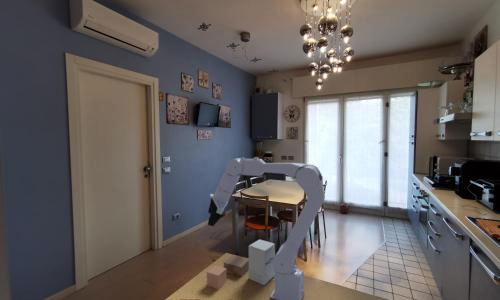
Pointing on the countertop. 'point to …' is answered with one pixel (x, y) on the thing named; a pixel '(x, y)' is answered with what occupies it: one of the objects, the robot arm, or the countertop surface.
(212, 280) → the terracotta cube
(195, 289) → the countertop surface
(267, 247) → the supplement box
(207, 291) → the countertop surface
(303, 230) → the robot arm
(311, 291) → the countertop surface
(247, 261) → the walnut slab
